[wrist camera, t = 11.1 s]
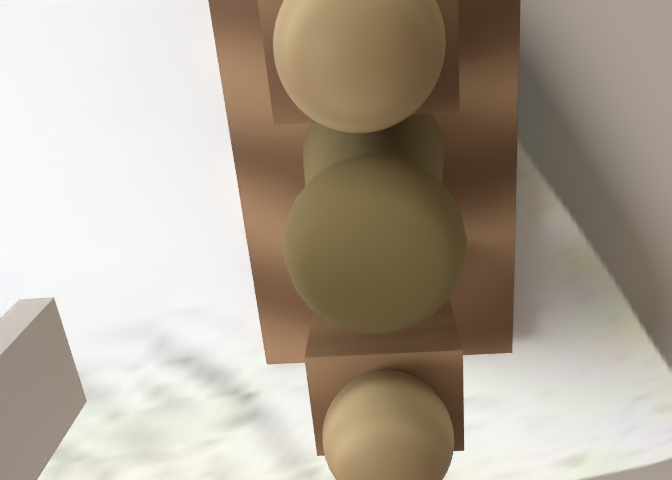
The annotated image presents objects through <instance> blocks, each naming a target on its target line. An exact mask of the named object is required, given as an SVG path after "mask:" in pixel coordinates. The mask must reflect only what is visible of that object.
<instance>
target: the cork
mask: <svg viewBox="0 0 672 480" xmlns="http://www.w3.org/2000/svg"><path fill="white" fill-rule="evenodd" d="M444 152H445V148H444V144H443V139H442V135H441V131H440V127H439V126H438V124H437V122H436V121H435V119H434V118H433V116H432V114H431V113H425V114H412V115H410V116H408V117H407V118H406V119H404V120H403V121H401V122H399V123H397V124H396V125H393V126H391V127H389V128H386V129H383V130H380V131H376V132H370V133H347V132H341V131H337V130H333V129H331V128H328V127H326V126H323V125H321V124H320V123H318V122H312V123H310V126H309V129H308V132H307V135H306V138H305V141H304V144H303V167H304V177H305V188H304V189H303V190H302V192H301V193H300V194H299V195H298V197H297V198H296V199H295V202H294V204H293V207H292V210H291V213H290V216H289V219H288V222H287V224H286V227H285V230H284V258H285V262H286V265H287V268H288V271H289V274H290V276H291V279H292V282H293V285H294V287H295V290H296V291H297V292H298V293H299V295H300V296H301V297H302V298H303V300H304V301H305V302H306V303H307V305H308V306H309V307H310V309H312V310H313V311H315V312H316V313H317V314H319V315H320V316H322V317H323V318H325V319H326V320H328V321H329V322H331V323H332V324H335V325H338V326H341V327H344V328H347V329H350V330H353V331H356V332H360V333H381V334H383V333H388V332H392V331H397V330H401V329H406V328H409V327H411V326H413V325H415V324H416V323H418V322H420V321H422V320H424V319H426V318H427V317H429V316H431V315H433V314H434V313H435V312H436V311H437V310H438V309H439V308H440V307H441V306H442V305H443V304H444V302H445V301H446V300H447V299H448V298H449V297H450V296H451V295H452V293H453V291H454V288H455V286H456V284H457V282H458V280H459V278H460V276H461V274H462V271H463V267H464V261H465V252H466V244H467V237H466V233H465V228H464V224H463V220H462V216H461V212H460V210H459V207H458V205H457V204H456V202H455V201H454V199H453V197H452V196H451V194H450V193H449V191H448V190H447V188H446V187H445V185H444V184H443V182H442V180H443V166H444Z"/></svg>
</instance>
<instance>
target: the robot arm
mask: <svg viewBox="0 0 672 480" xmlns="http://www.w3.org/2000/svg"><path fill="white" fill-rule="evenodd" d="M671 372H672V371H671ZM85 403H86V398H85V394H84V391H83V388H82V385H81V382H80V379H79V375H78V372H77V369H76V366H75V363H74V360H73V357H72V353H71V350H70V347H69V344H68V341H67V338H66V334H65V331H64V328H63V325H62V322H61V319H60V315H59V312H58V309H57V306H56V303H55V300H54V298H38V299H23V300H19V301H18V302H17V303H16V304H15V305H14V306H13V307H12V308H11V309H10V310H8V311H7V312H6V313H5V314H4V315H3V316H2V317H1V318H0V480H37V479H38V477H39V476H40V474H41V472H42V471H43V469H44V468H45V466H46V465H47V463H48V461H49V460H50V458H51V457H52V455H53V454H54V452H55V450H56V449H57V447H58V446H59V444H60V442H61V441H62V439H63V438H64V436H65V435H66V433H67V431H68V430H69V428H70V427H71V425H72V424H73V422H74V420H75V419H76V417H77V416H78V414H79V412H80V411H81V409H82V408H83V406H84V405H85Z"/></svg>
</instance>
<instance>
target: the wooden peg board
mask: <svg viewBox="0 0 672 480" xmlns="http://www.w3.org/2000/svg"><path fill="white" fill-rule="evenodd" d="M208 1H209V7H210V13H211V19H212V25H213V32H214V38H215V44H216V50H217V57H218V63H219V69H220V75H221V82H222V88H223V94H224V100H225V107H226V113H227V119H228V125H229V132H230V138H231V144H232V150H233V156H234V163H235V169H236V175H237V181H238V188H239V194H240V200H241V206H242V213H243V219H244V225H245V231H246V238H247V244H248V250H249V256H250V263H251V269H252V275H253V281H254V287H255V294H256V300H257V306H258V312H259V319H260V325H261V331H262V337H263V344H264V350H265V356H266V362H267V364H283V363H304V362H305V365H306V373H307V381H308V388H309V396H310V403H311V411H312V419H313V426H314V434H315V441H316V449H317V456H322V455H325V458H326V461H327V463H328V466H329V469H330V470H331V472H332V474H333V476H334V477H335V479H336V480H442V479H443V478H444V476H445V474H446V473H447V471H448V468H449V466H450V463H451V460H452V456H453V451H464V405H463V355H474V354H495V353H512V335H513V293H514V250H515V207H516V165H517V122H518V121H517V120H518V79H519V77H518V76H519V37H520V34H519V33H520V0H208ZM425 113H431V114H432V116H433V118H434V119H435V121H436V122H437V124H438V126H439V127H440V131H441V135H442V139H443V144H444V148H445V152H444V166H443V180H442V182H443V184H444V185H445V187H446V188H447V190H448V191H449V193H450V194H451V196H452V197H453V199H454V201H455V202H456V204H457V205H458V207H459V210H460V212H461V216H462V220H463V224H464V228H465V233H466V237H467V244H466V252H465V261H464V267H463V271H462V274H461V276H460V278H459V280H458V282H457V284H456V286H455V288H454V291H453V293H452V295H451V296H450V297H449V298H448V299H447V300H446V301H445V302H444V304H443V305H442V306H441V307H440V308H439V309H438V310H437V311H436V312H435V313H434V314H433V315H431V316H429V317H427V318H426V319H424V320H422V321H420V322H418V323H416V324H415V325H413V326H411V327H409V328H406V329H401V330H397V331H392V332H388V333H383V334H381V333H360V332H356V331H353V330H350V329H347V328H344V327H341V326H338V325H335V324H332V323H331V322H329V321H328V320H326V319H325V318H323V317H322V316H320V315H319V314H317V313H316V312H315V311H313V310H312V309H310V307H309V306H308V305H307V303H306V302H305V301H304V300H303V298H302V297H301V296H300V295H299V293H298V292H297V291H296V290H295V287H294V285H293V282H292V279H291V276H290V274H289V271H288V268H287V265H286V262H285V258H284V230H285V227H286V224H287V222H288V219H289V216H290V213H291V210H292V207H293V204H294V202H295V199H296V198H297V197H298V195H299V194H300V193H301V192H302V190H303V189H304V188H305V177H304V167H303V144H304V141H305V138H306V135H307V132H308V129H309V126H310V123H312V122H318V123H320V124H321V125H323V126H326V127H328V128H331V129H333V130H337V131H341V132H347V133H370V132H376V131H380V130H383V129H386V128H389V127H391V126H393V125H396V124H397V123H399V122H401V121H403V120H404V119H406V118H407V117H408V116H410V115H412V114H425Z"/></svg>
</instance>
